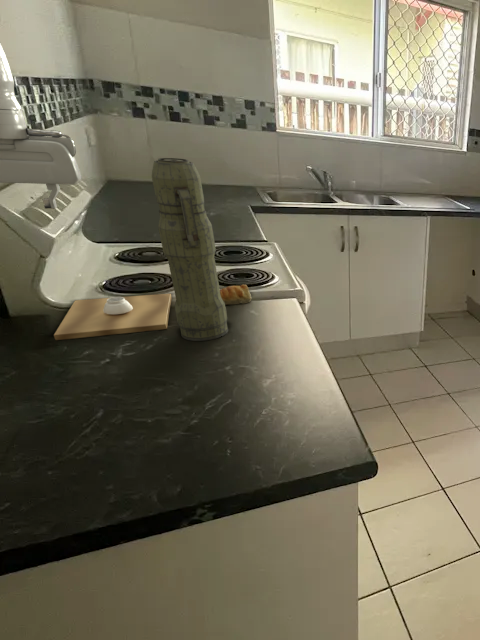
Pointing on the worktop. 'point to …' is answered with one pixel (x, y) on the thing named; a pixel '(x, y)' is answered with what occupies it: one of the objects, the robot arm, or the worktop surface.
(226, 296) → the pastry
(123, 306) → the white bowl
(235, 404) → the worktop surface
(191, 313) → the beige stone tall figure
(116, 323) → the board
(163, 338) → the worktop surface
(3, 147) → the robot arm
